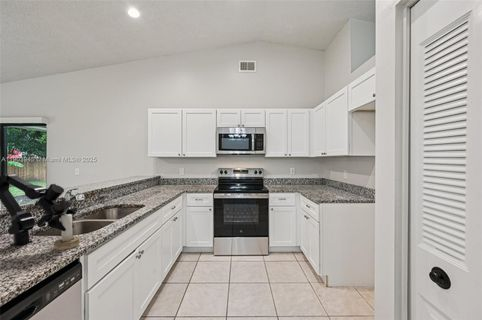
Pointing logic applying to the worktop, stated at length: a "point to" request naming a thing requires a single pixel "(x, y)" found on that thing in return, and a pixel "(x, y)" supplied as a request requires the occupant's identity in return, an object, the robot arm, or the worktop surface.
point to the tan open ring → (66, 243)
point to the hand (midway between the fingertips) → (69, 229)
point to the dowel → (66, 227)
